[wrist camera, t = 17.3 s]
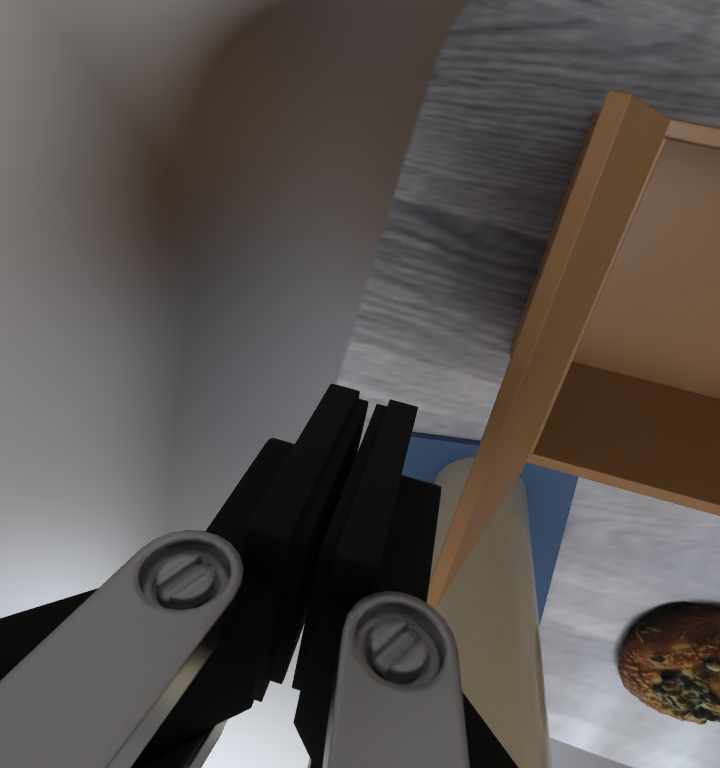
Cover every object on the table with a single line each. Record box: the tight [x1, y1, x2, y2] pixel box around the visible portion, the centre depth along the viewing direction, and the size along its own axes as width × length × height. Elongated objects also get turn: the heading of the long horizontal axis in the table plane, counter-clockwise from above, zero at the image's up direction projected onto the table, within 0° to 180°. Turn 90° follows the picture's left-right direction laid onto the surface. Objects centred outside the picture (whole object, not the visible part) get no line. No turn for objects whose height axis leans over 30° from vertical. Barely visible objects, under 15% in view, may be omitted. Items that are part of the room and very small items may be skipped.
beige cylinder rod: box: [430, 457, 552, 768], centre depth 28 cm, size 6×6×19 cm
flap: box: [427, 90, 670, 608], centre depth 15 cm, size 8×13×1 cm
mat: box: [402, 432, 578, 625], centre depth 40 cm, size 20×12×1 cm, turn 179°
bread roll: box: [618, 602, 720, 724], centre depth 38 cm, size 11×11×5 cm
